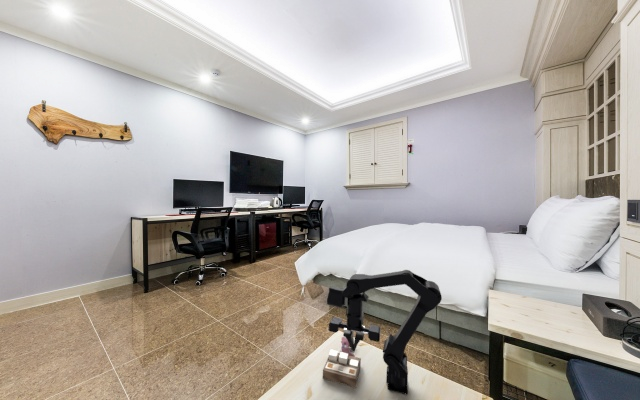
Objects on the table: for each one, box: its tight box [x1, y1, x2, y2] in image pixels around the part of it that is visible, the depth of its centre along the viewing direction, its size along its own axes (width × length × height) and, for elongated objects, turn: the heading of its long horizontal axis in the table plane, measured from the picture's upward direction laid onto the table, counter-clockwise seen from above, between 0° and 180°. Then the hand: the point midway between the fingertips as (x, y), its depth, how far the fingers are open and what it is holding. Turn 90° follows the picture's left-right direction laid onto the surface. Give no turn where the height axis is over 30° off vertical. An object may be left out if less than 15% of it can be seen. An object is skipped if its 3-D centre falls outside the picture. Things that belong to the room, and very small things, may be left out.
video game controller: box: [340, 336, 356, 357], centre depth 94 cm, size 10×5×7 cm, turn 175°
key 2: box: [349, 359, 359, 368], centre depth 85 cm, size 3×3×2 cm
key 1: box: [328, 349, 339, 362], centre depth 87 cm, size 3×3×2 cm
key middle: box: [339, 351, 348, 365], centre depth 86 cm, size 3×3×2 cm
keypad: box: [322, 352, 362, 389], centre depth 84 cm, size 12×11×3 cm
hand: (353, 350), depth 85 cm, fingers closed
